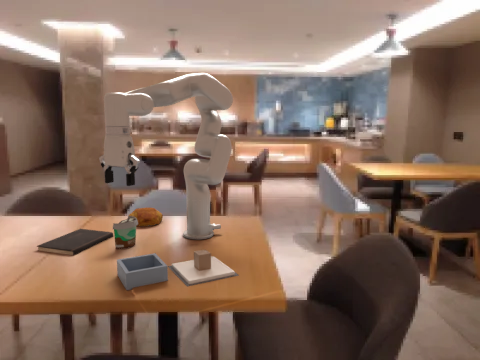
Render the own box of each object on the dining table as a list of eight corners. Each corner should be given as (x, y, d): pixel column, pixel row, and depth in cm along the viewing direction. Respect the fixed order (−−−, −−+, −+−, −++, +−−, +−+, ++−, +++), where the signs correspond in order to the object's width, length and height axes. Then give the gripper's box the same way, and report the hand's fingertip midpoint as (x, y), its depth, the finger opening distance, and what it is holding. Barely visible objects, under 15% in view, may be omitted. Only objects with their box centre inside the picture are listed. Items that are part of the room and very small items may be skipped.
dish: (155, 268, 124) (155, 253, 123) (167, 282, 114) (167, 265, 113) (117, 275, 118) (116, 259, 118) (126, 290, 108) (126, 273, 107)
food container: (129, 251, 139) (128, 224, 137) (113, 250, 140) (112, 223, 138) (144, 241, 151) (143, 216, 149) (129, 240, 152) (128, 215, 150)
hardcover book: (37, 251, 139) (36, 245, 139) (80, 233, 161) (80, 228, 161) (73, 257, 135) (73, 250, 134) (113, 237, 156) (113, 232, 156)
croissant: (130, 224, 182) (127, 208, 181) (163, 218, 186) (160, 202, 184) (128, 232, 168) (125, 214, 167) (164, 225, 172) (161, 208, 170)
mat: (215, 258, 133) (215, 257, 133) (239, 276, 118) (239, 275, 118) (167, 267, 124) (167, 266, 124) (187, 288, 110) (187, 286, 110)
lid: (213, 258, 131) (213, 242, 130) (234, 274, 118) (234, 256, 117) (171, 266, 124) (171, 248, 123) (189, 284, 111) (188, 264, 110)
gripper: (146, 132, 123) (147, 184, 126) (107, 130, 132) (110, 180, 134) (129, 132, 117) (131, 188, 120) (89, 131, 125) (92, 183, 128)
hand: (119, 184), depth 127 cm, fingers open, 9 cm apart
